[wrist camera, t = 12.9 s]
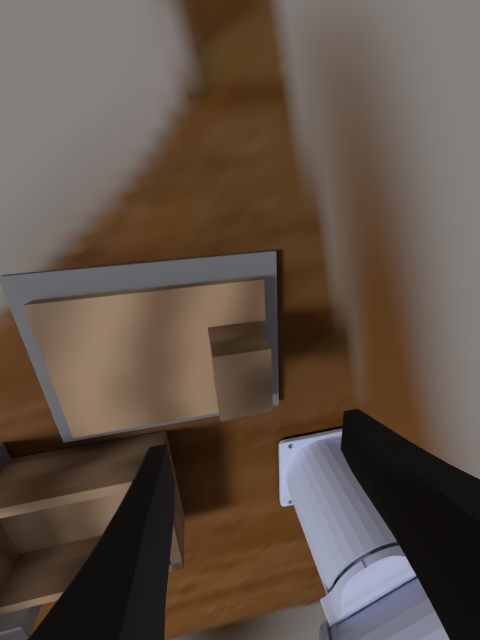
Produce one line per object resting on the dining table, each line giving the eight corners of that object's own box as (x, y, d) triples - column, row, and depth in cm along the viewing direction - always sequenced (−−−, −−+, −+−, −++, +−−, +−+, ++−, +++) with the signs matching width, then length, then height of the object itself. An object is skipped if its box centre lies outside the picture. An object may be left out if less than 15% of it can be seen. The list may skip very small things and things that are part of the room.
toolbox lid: (260, 276, 17) (286, 296, 13) (265, 395, 21) (286, 445, 16) (32, 300, 16) (-34, 333, 11) (78, 427, 19) (43, 494, 14)
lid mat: (274, 250, 18) (276, 251, 17) (276, 400, 22) (278, 404, 21) (3, 274, 15) (-3, 276, 15) (66, 437, 20) (63, 442, 19)
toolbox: (163, 415, 20) (150, 511, 14) (186, 526, 25) (185, 638, 18) (-131, 465, 18) (-327, 616, 11) (-44, 579, 22) (-143, 734, 16)
